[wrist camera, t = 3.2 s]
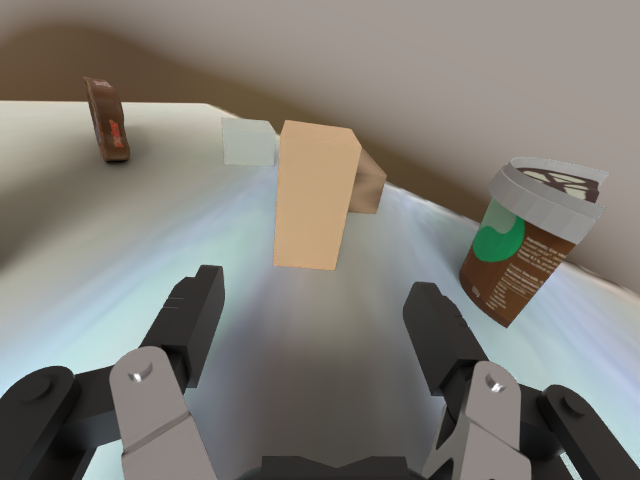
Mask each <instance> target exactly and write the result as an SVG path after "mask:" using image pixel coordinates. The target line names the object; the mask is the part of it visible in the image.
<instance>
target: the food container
mask: <svg viewBox="0 0 640 480" xmlns="http://www.w3.org/2000/svg"><path fill="white" fill-rule="evenodd" d="M608 174H609V173H608V172H605V171H601V170H597V169H593V168H589V167H585V166H580V165H576V164H571V163H566V162H561V161H555V160H549V159H541V158H532V157H518V158H513V159H511V160H510V162H509V163H508V165H506V166H503V167H502V168H501V169H500V170H499V172H498V173H497V174H496V175H495V176H494V178H493V179H492V180H491V181H490V183H489V184H488V187H487V189H488V191H489V193H490V194H491V196H492V200H491V202H490V204H489V207H488V209H487V212H486V213H485V216H484V218H483V220H482V222H481V225H480V227H479V229H478V232H477V234H476V236H475V238H474V241H473V243H472V245H471V248H470V250H469V252H468V254H467V257H466V259H465V261H464V263H463V266H462V268H461V270H460V274H459V278H460V282H461V285H462V287H463V289H464V291H465V292H466V294H467V295H468V296H469V298H470V299H471V300H472V301H473V302H474V303H475V304H476V305H477V306H478V307H479V308H480V309H481V310H482V311H483V312H484V313H485V314H487V315H488V316H489V317H491V318H492V319H493V320H495V321H496V322H498V323H499V324H501V325H502V326H504V327H505V328H507V327H508V326H509V325H510V324H511V323H512V321H513V320H514V319H515V318H516V317H517V315H518V314H519V313H520V312H521V310H522V309H523V308H524V307H525V306H526V304H527V303H528V302H529V301H530V300H531V298H532V297H533V296H534V295H535V294H536V292H537V291H538V290H539V289H540V288H541V286H542V285H543V284H544V283H545V281H546V280H547V279H548V278H549V277H550V275H551V274H552V273H553V272H554V271H555V269H556V268H557V267H558V266H559V265H560V263H561V262H562V261H563V260H564V258H565V257H566V256H567V255H568V254H569V252H570V251H571V250H572V249H573V247H574V246H575V245H576V244H577V245H578V244H579V243H580V242H581V240H582V239H583V238H584V236H585V235H586V234H587V232H588V231H589V230H590V229H591V227H592V226H593V225H594V223H595V222H596V220H597V219H598V217H599V216H600V215H601V214H602V212H603V211H604V210H605V209H606V207H603V206H600V205H597V204H595V202H596V200H597V197H598V195H599V191H597V190H598V188H599V186H600V185H601V184H602V182H603V181H604V180H605V178H606V177H607V176H608Z"/></svg>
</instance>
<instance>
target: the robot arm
mask: <svg viewBox="0 0 640 480" xmlns="http://www.w3.org/2000/svg"><path fill="white" fill-rule="evenodd" d="M224 300H225V289H224V276H223V268H222V266H213V265H201V266H200V268H199V270H198V272H197V274H196V276H195V277H185V278H184V279H182V280H181V281H180V282H179V283H178V284H176V285H175V286H174V288H173V290H172V291H171V293H170V295H169V297H168V299H167V300H166V302H165V303H164V305H163V308H162V309H161V310H160V312H159V314H158V316H157V317H156V319H155V321H154V322H153V324H152V326H151V328H150V329H149V331H148V333H147V334H146V336H145V338H144V340H143V341H142V343H141V345H140V346H139V347H138V349H135V350H133V351H131V352H129V353H127V354H126V355H124V356H123V357H122V358H121V359H120V360H119V361H118V362H117V363H116V364H114V365H112V366H109V367H105V368H101V369H97V370H93V371H89V372H84V373H80V374H76V375H74V374H73V373H72V371H71V370H70V369H68V368H67V367H63V366H50V367H45V368H42V369H39V370H37V371H34V372H32V373H30V374H28V375H26V376H25V377H23V378H22V379H20V380H19V381H17V382H16V383H15V384H14V385H13V386H11V387H10V388H9V389H8V390H7V391H6V393H5V394H4V395H3V396H2V397H1V399H0V480H82V478H83V476H84V474H85V472H86V470H87V468H88V466H89V464H90V462H91V459H92V457H93V455H94V453H95V451H96V449H97V447H98V446H101V445H104V444H107V443H110V442H113V441H116V440H119V439H122V443H123V453H122V467H123V473H124V478H125V480H217V477H216V475H215V472H214V470H213V467H212V465H211V462H210V460H209V457H208V455H207V452H206V450H205V447H204V445H203V442H202V440H201V437H200V434H199V432H198V429H197V427H196V424H195V422H194V420H193V417H192V415H191V413H190V412H189V410H188V408H187V405H186V403H185V400H184V398H183V395H184V393H185V390H186V388H197V385H198V382H199V379H200V376H201V373H202V370H203V367H204V364H205V361H206V358H207V355H208V352H209V349H210V346H211V343H212V340H213V337H214V334H215V331H216V328H217V325H218V322H219V319H220V316H221V313H222V310H223V306H224ZM403 319H404V322H405V325H406V328H407V330H408V333H409V336H410V339H411V341H412V344H413V347H414V349H415V352H416V355H417V357H418V360H419V363H420V366H421V368H422V371H423V374H424V376H425V379H426V382H427V384H428V387H429V390H430V393H431V395H432V396H444V399H445V401H446V404H445V405H444V407H443V409H442V413H441V417H440V420H439V424H438V427H437V431H436V434H435V438H434V441H433V445H432V448H431V452H430V454H429V457H428V459H427V461H426V463H425V465H424V467H423V469H422V471H421V474H419V473H417V472H415V471H413V470H411V469H409V468H408V467H407V463H406V459H405V457H369V458H366V459H363V460H360V461H357V462H355V463H352V464H349V465H346V466H343V467H340V468H333V467H330V466H327V465H324V464H321V463H318V462H315V461H312V460H309V459H306V458H303V457H300V456H263V457H262V466H261V467H258V468H255V469H252V470H250V471H248V472H246V473H244V474H243V475H241V476H240V477H238V478H237V479H235V480H574V479H573V478H572V476H571V474H570V472H569V471H568V469H567V467H566V466H565V464H564V462H563V461H562V459H561V457H560V456H559V455H560V454H562V453H564V452H566V454H567V455H568V457H569V459H570V460H571V462H572V463H573V465H574V467H575V468H576V470H577V472H578V473H579V475H580V477H581V478H582V480H640V469H639V468H638V466H637V465H636V464H635V463H634V461H633V460H632V459H631V457H630V456H629V455H628V453H627V452H626V451H625V449H624V448H623V447H622V446H621V444H620V443H619V442H618V440H617V439H616V438H615V436H614V435H613V434H612V433H611V431H610V430H609V429H608V427H607V426H606V425H605V423H604V422H603V421H602V420H601V418H600V417H599V416H598V414H597V413H596V412H595V410H594V409H593V408H592V407H591V406H590V404H589V403H588V402H587V401H586V400H585V399H583V398H582V397H581V396H580V395H578V394H577V393H575V392H574V391H572V390H571V389H569V388H566V387H564V386H561V385H550V386H549V387H547V388H546V389H545V390H544V391H543V392H542V391H539V390H536V389H533V388H531V387H528V386H525V385H522V384H519V383H517V382H516V380H515V379H514V377H513V376H512V375H511V374H510V373H509V372H508V371H507V370H505V369H504V368H503V367H501V366H499V365H497V364H495V363H493V362H490V361H489V359H488V358H487V356H486V354H485V353H484V351H483V349H482V348H481V346H480V344H479V343H478V341H477V339H476V338H475V336H474V334H473V333H472V331H471V330H470V328H469V327H468V325H467V323H466V321H465V320H464V318H462V315H461V313H460V311H459V310H458V308H457V306H456V305H455V304H454V303H453V302H452V301H451V300H450V299H449V298H447V297H446V296H442V294H441V292H440V291H439V289H438V287H437V286H436V284H434V283H428V282H415V283H414V284H413V286H412V288H411V291H410V293H409V295H408V298H407V300H406V302H405V304H404V307H403Z"/></svg>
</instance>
